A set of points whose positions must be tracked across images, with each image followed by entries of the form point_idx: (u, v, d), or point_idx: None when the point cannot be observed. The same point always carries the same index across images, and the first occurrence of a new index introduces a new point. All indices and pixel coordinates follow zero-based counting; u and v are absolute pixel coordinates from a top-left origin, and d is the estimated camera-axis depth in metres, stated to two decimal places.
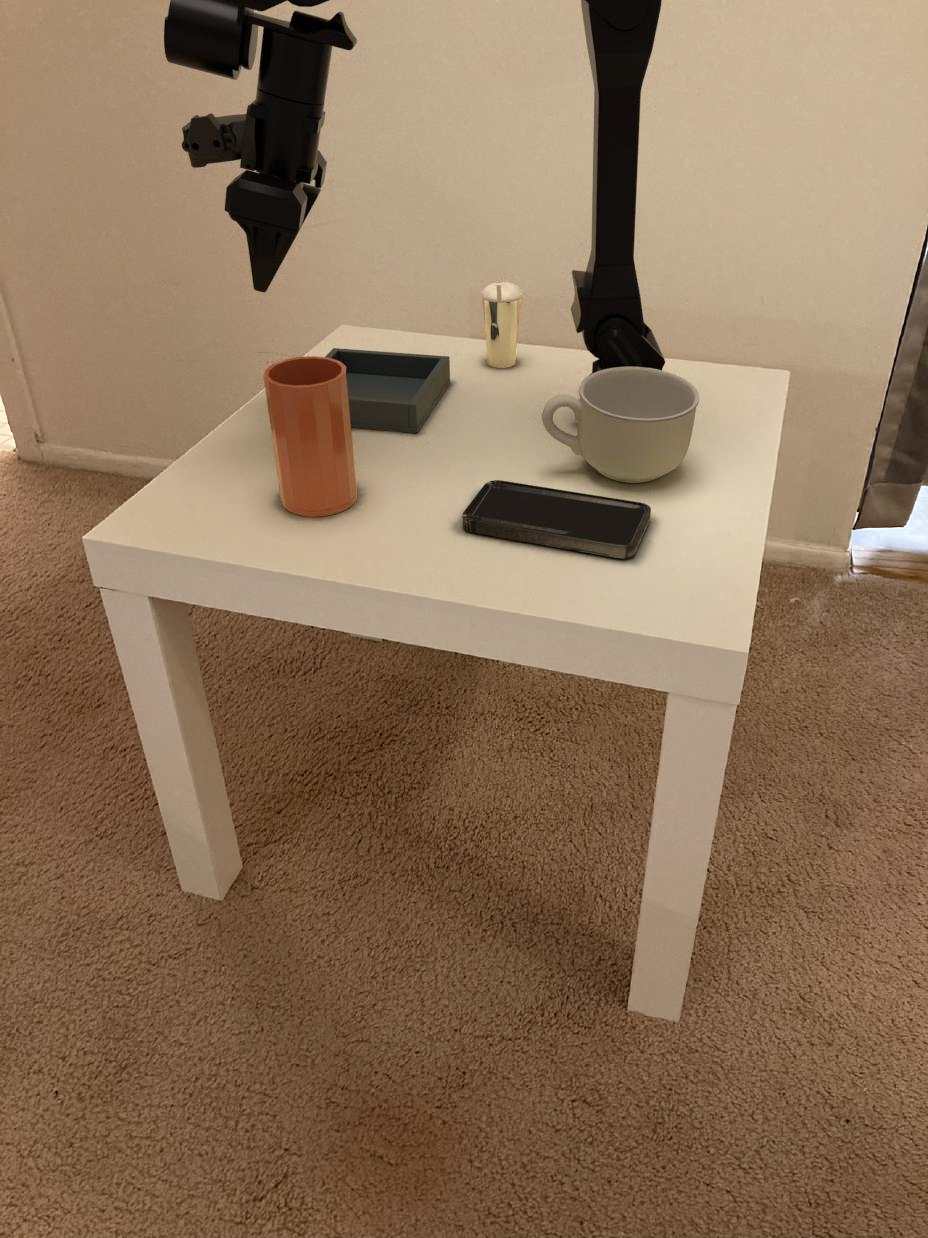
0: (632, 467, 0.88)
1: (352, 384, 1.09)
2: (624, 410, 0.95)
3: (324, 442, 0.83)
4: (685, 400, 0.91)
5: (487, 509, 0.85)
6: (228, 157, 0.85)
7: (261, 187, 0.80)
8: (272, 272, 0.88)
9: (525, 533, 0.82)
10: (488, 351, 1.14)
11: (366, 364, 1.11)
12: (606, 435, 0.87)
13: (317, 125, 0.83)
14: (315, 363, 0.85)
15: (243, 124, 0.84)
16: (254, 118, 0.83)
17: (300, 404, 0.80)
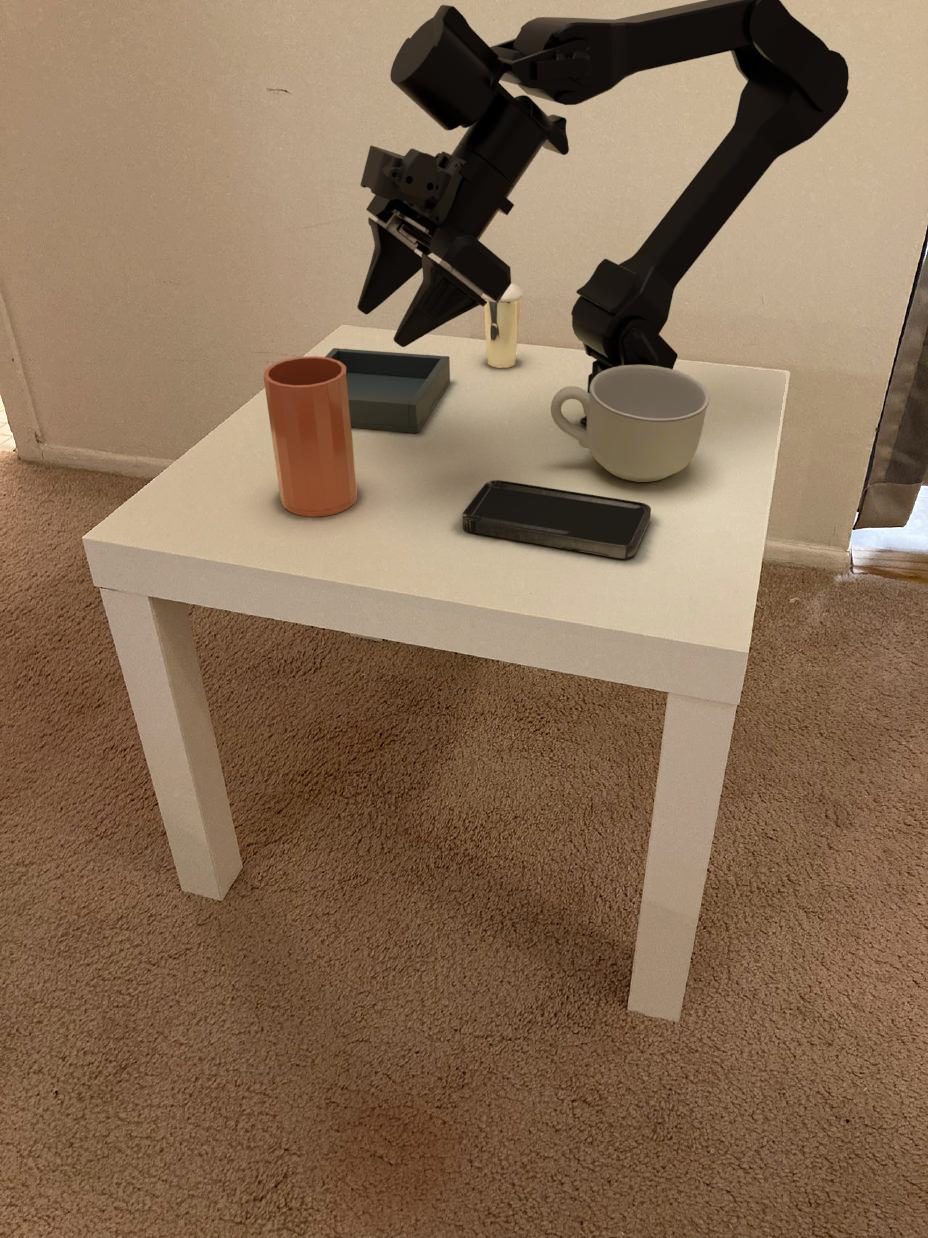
0: (633, 465, 0.88)
1: (352, 384, 1.09)
2: (640, 408, 0.95)
3: (324, 442, 0.83)
4: (698, 403, 0.90)
5: (487, 509, 0.85)
6: (419, 201, 0.78)
7: (488, 251, 0.76)
8: (424, 331, 0.81)
9: (525, 533, 0.82)
10: (488, 351, 1.14)
11: (366, 364, 1.11)
12: (609, 431, 0.87)
13: (511, 208, 0.82)
14: (315, 363, 0.85)
15: (446, 176, 0.79)
16: (461, 176, 0.79)
17: (300, 404, 0.80)
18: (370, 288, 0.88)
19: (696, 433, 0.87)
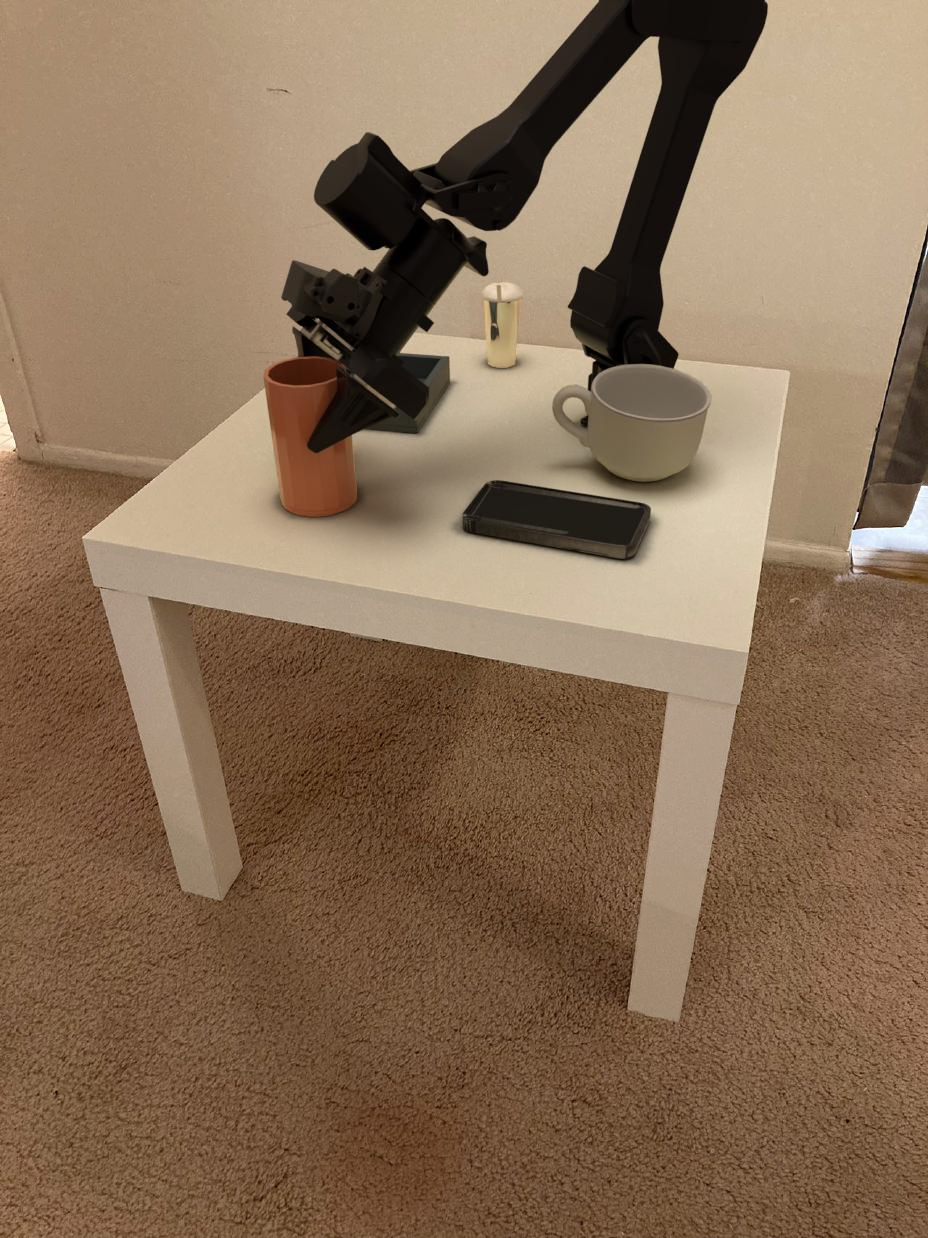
0: (633, 464, 0.88)
1: None
2: (642, 408, 0.95)
3: None
4: (700, 403, 0.90)
5: (487, 509, 0.85)
6: (340, 318, 0.79)
7: (407, 373, 0.77)
8: (337, 438, 0.82)
9: (525, 533, 0.82)
10: (488, 351, 1.14)
11: None
12: (610, 430, 0.87)
13: (430, 325, 0.83)
14: (315, 363, 0.85)
15: (367, 295, 0.79)
16: (382, 295, 0.80)
17: (300, 404, 0.80)
18: None
19: (697, 434, 0.87)
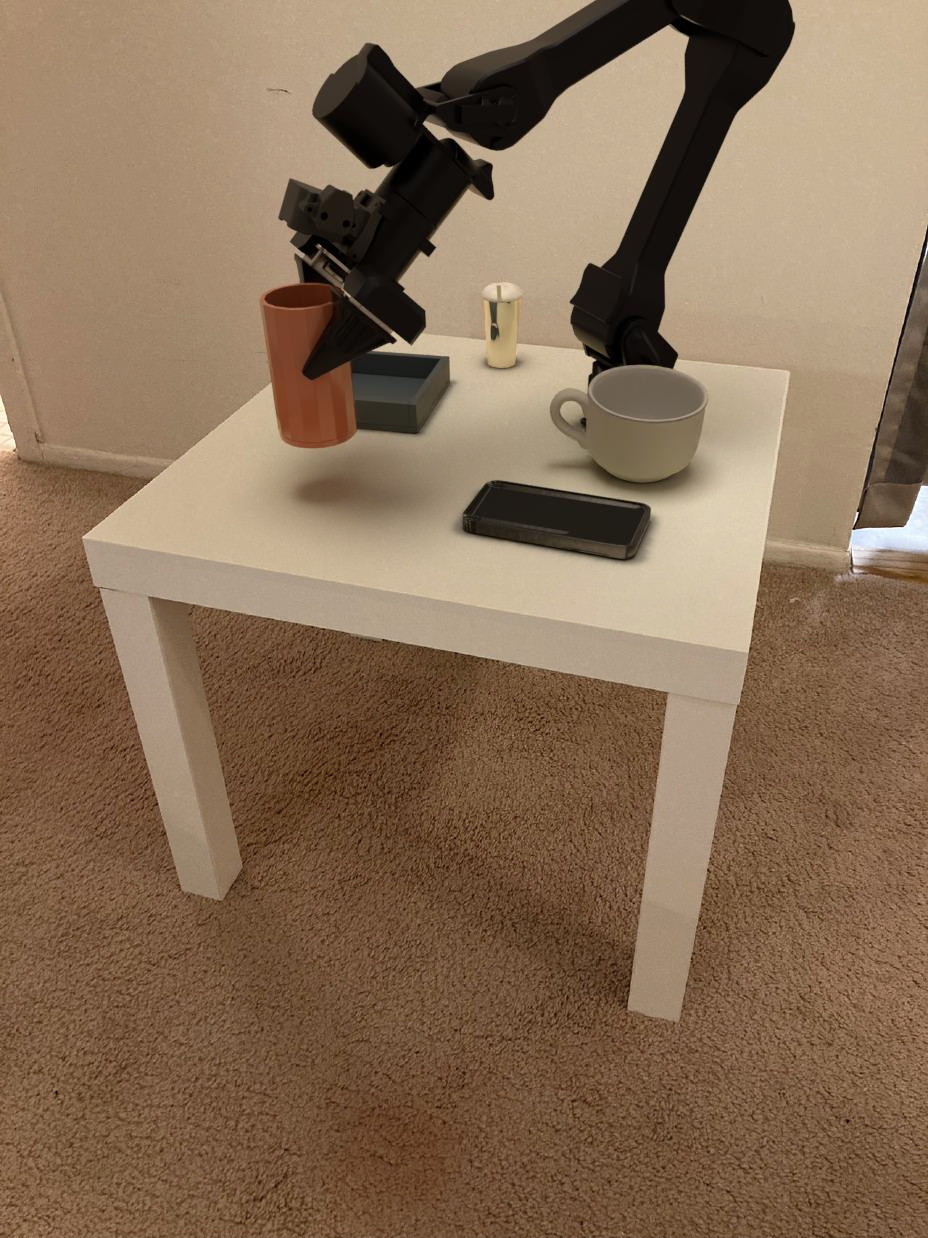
0: (631, 466, 0.88)
1: None
2: (641, 408, 0.95)
3: None
4: (697, 403, 0.90)
5: (487, 509, 0.85)
6: (336, 238, 0.77)
7: (401, 294, 0.74)
8: (333, 365, 0.80)
9: (525, 533, 0.82)
10: (488, 351, 1.14)
11: (366, 364, 1.11)
12: (607, 432, 0.87)
13: (432, 250, 0.80)
14: (315, 289, 0.83)
15: (365, 215, 0.77)
16: (381, 215, 0.77)
17: (295, 327, 0.78)
18: None
19: (695, 433, 0.87)
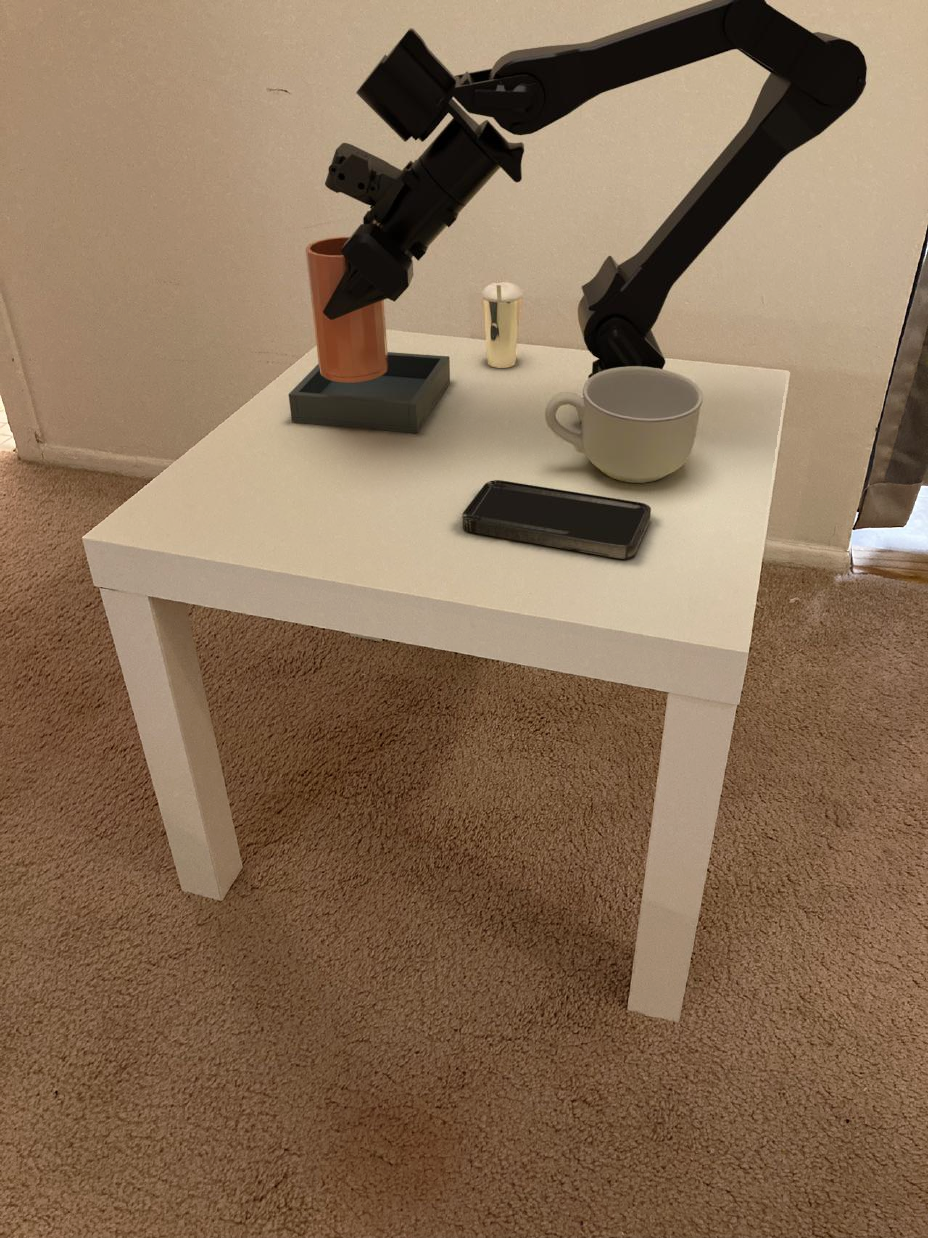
0: (632, 466, 0.88)
1: (352, 384, 1.09)
2: (632, 410, 0.95)
3: None
4: (690, 401, 0.90)
5: (487, 509, 0.85)
6: (362, 198, 0.87)
7: (384, 252, 0.83)
8: (347, 309, 0.91)
9: (525, 533, 0.82)
10: (488, 351, 1.14)
11: None
12: (606, 434, 0.87)
13: (453, 221, 0.88)
14: None
15: (391, 181, 0.86)
16: (404, 183, 0.86)
17: (320, 271, 0.91)
18: None
19: (692, 431, 0.88)
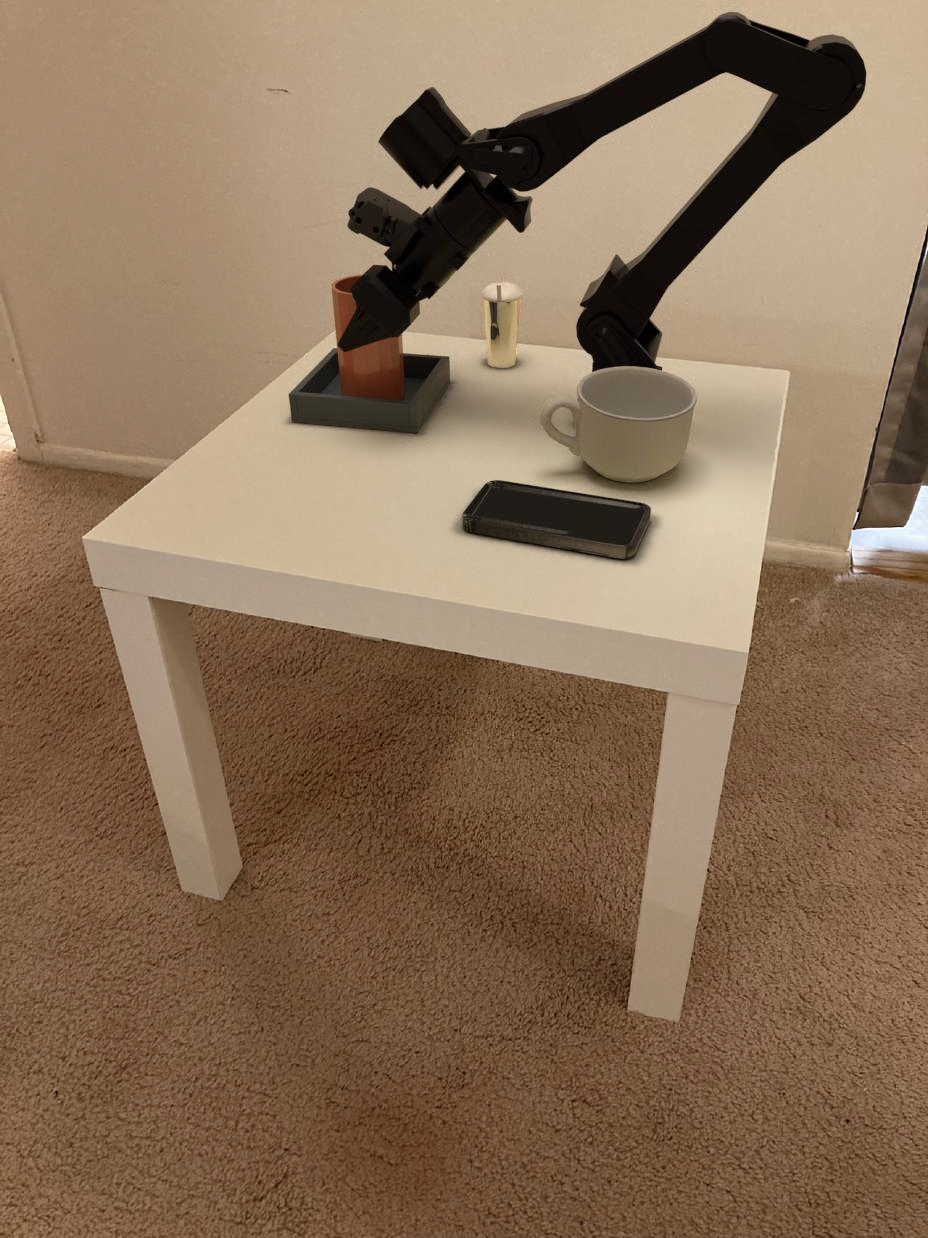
0: (632, 466, 0.88)
1: None
2: (620, 410, 0.95)
3: None
4: (682, 398, 0.91)
5: (487, 509, 0.85)
6: (379, 240, 0.94)
7: (388, 293, 0.90)
8: (359, 344, 0.98)
9: (525, 533, 0.82)
10: (488, 351, 1.14)
11: None
12: (606, 435, 0.87)
13: (461, 265, 0.94)
14: None
15: (406, 226, 0.93)
16: (417, 228, 0.93)
17: (341, 307, 0.98)
18: None
19: (688, 428, 0.88)
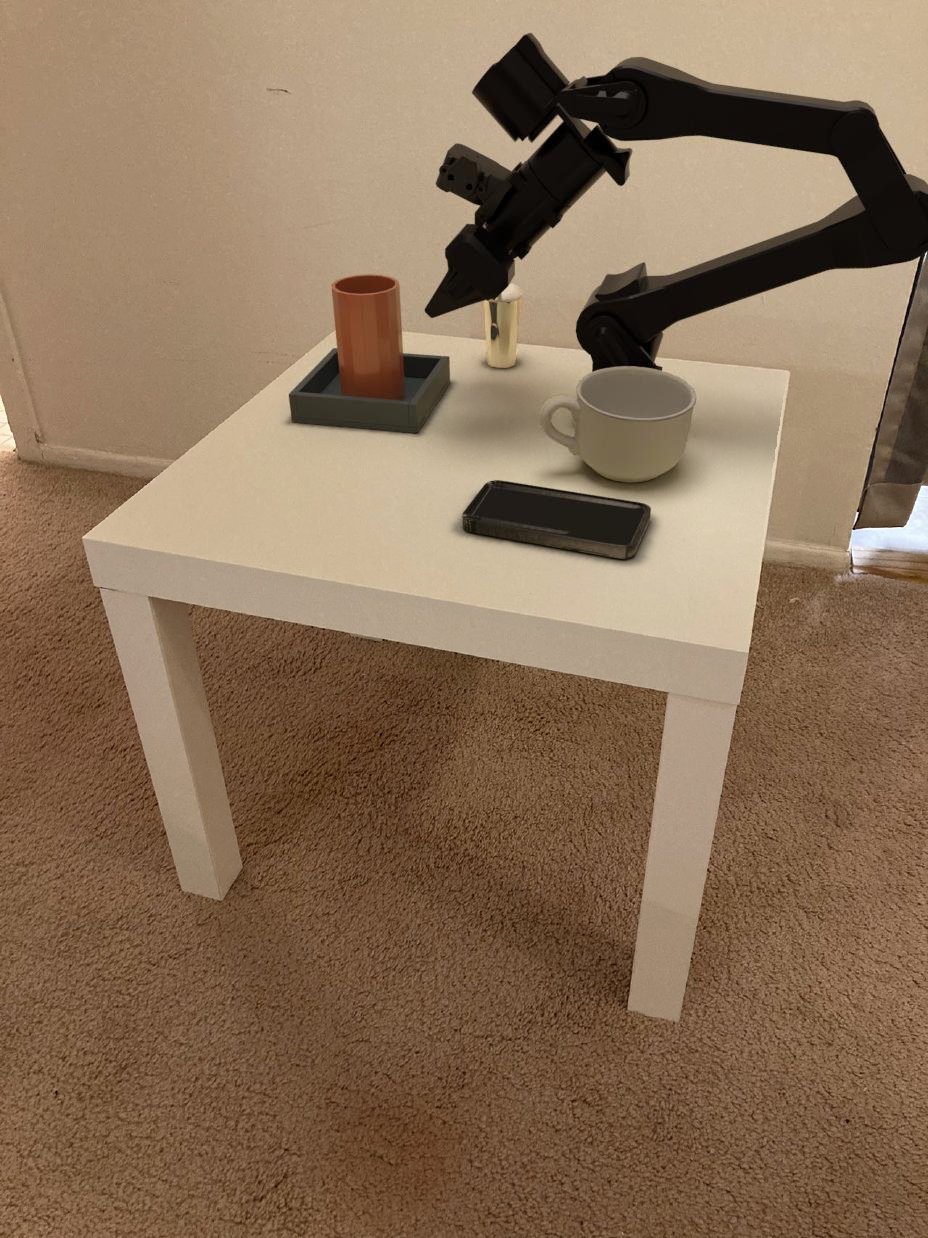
0: (632, 466, 0.88)
1: None
2: (619, 410, 0.95)
3: (357, 345, 1.00)
4: (681, 398, 0.91)
5: (487, 509, 0.85)
6: (470, 198, 0.90)
7: (486, 252, 0.86)
8: (448, 309, 0.94)
9: (525, 533, 0.82)
10: (488, 351, 1.14)
11: None
12: (606, 435, 0.87)
13: (557, 222, 0.90)
14: (390, 282, 1.02)
15: (499, 182, 0.89)
16: (511, 184, 0.89)
17: (341, 307, 0.98)
18: None
19: (688, 428, 0.88)
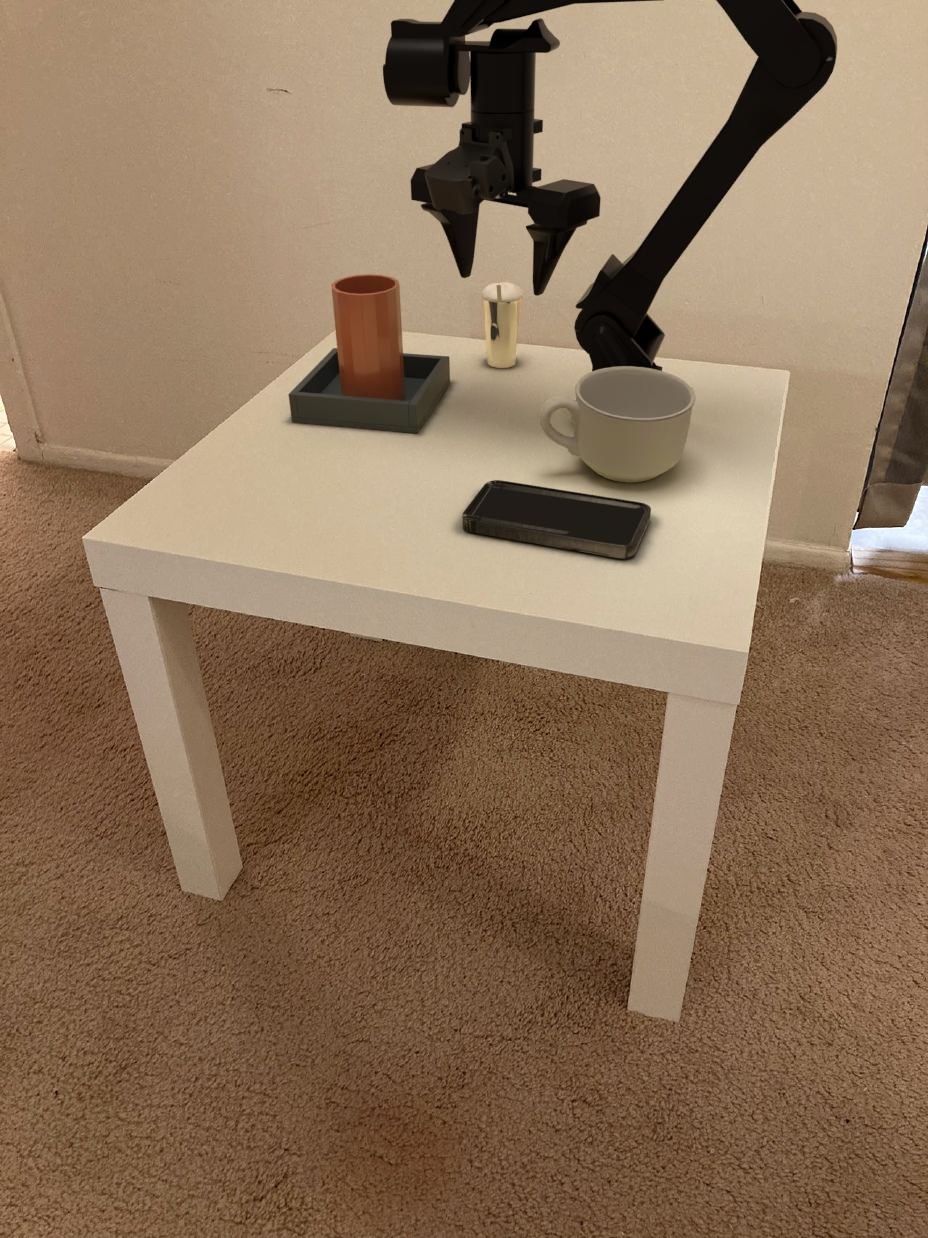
0: (632, 466, 0.88)
1: None
2: (617, 410, 0.95)
3: (357, 345, 1.00)
4: (679, 398, 0.91)
5: (487, 509, 0.85)
6: None
7: (579, 191, 0.87)
8: (551, 270, 0.94)
9: (525, 533, 0.82)
10: (488, 351, 1.14)
11: None
12: (606, 435, 0.87)
13: (541, 124, 0.89)
14: (390, 282, 1.02)
15: (496, 152, 0.87)
16: (506, 141, 0.87)
17: (341, 307, 0.98)
18: (462, 257, 0.98)
19: (687, 427, 0.88)
